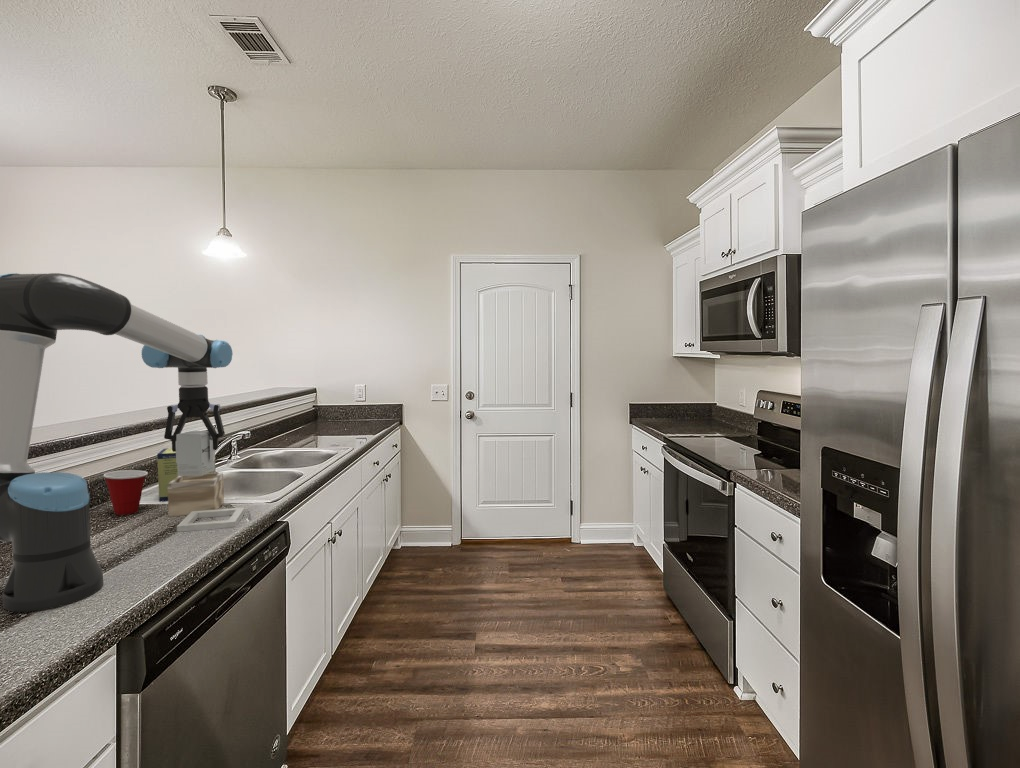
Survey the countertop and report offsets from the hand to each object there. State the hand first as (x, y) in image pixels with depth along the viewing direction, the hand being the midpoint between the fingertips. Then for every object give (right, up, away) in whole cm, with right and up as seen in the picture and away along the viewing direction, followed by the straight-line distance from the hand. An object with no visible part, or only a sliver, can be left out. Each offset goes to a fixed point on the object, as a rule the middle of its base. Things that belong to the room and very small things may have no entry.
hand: (196, 461), depth 163 cm
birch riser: (0, -15, +1) cm, 15 cm away
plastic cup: (-19, -15, -3) cm, 24 cm away
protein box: (-12, -14, +16) cm, 24 cm away
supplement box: (0, -4, 0) cm, 4 cm away
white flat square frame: (+11, -15, -11) cm, 22 cm away
